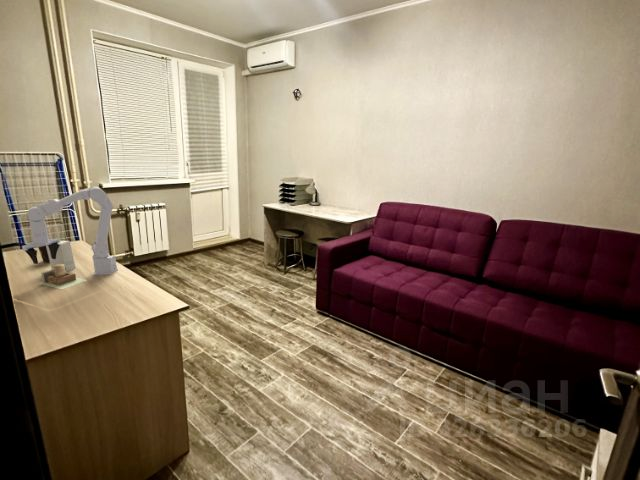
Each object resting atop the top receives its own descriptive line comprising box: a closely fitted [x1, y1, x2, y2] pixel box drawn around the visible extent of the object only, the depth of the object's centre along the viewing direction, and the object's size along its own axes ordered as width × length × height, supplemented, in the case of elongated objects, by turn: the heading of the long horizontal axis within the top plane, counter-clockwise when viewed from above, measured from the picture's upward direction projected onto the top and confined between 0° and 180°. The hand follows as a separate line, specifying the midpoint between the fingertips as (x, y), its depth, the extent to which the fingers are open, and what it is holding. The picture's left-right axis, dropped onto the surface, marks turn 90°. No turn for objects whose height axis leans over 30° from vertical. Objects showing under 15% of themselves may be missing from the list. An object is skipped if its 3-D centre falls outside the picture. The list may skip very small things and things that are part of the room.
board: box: [40, 276, 88, 290], centre depth 161 cm, size 15×12×1 cm
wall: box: [41, 267, 67, 283], centre depth 162 cm, size 2×10×5 cm, turn 158°
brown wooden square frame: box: [47, 271, 77, 286], centre depth 161 cm, size 8×8×3 cm
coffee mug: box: [37, 246, 50, 263], centre depth 186 cm, size 12×9×10 cm
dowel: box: [54, 264, 66, 278], centre depth 160 cm, size 4×4×8 cm
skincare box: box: [46, 240, 76, 272], centre depth 173 cm, size 8×7×16 cm
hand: (45, 261), depth 158 cm, fingers open, 7 cm apart
